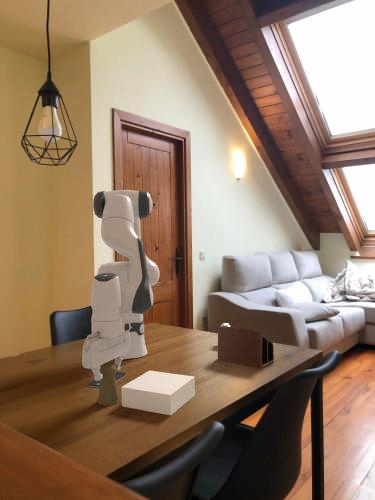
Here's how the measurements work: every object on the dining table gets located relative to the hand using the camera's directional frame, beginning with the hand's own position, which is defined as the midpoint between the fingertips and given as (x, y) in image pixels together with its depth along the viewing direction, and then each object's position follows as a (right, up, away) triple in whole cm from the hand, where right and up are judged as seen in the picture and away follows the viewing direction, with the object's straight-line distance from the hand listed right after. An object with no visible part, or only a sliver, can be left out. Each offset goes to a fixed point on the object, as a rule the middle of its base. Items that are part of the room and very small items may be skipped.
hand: (107, 375), depth 122 cm
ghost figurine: (+42, -6, +62) cm, 75 cm away
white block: (+15, -8, +1) cm, 17 cm away
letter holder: (+46, -7, +39) cm, 61 cm away
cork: (0, -8, +1) cm, 8 cm away
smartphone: (-4, -8, +20) cm, 21 cm away
